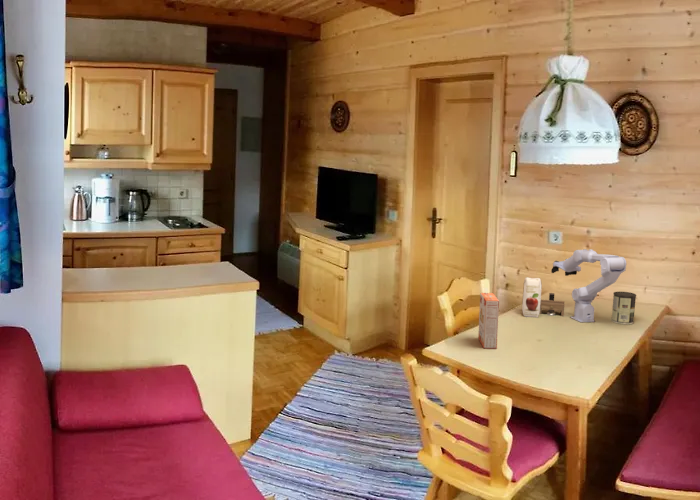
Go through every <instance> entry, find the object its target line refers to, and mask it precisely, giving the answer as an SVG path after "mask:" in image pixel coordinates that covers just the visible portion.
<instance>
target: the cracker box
mask: <svg viewBox="0 0 700 500" xmlns="http://www.w3.org/2000/svg"><path fill="white" fill-rule="evenodd" d="M479 295H480V296H479V313H478V314H479V316H478V335H477V337H478V338H477V339H478V340H479V342H480V344H481V346H482V348H483V349H496V350H497V348H498V333H499V332H498V331H499V312H500V311H499V309H500V300H499V299H498V297H497V296H496V295H495V294H494V293H493V292H480V294H479Z"/></svg>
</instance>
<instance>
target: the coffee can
mask: <svg viewBox="0 0 700 500" xmlns="http://www.w3.org/2000/svg"><path fill="white" fill-rule="evenodd" d="M636 297H637V293H634V292H630V291H629V292H628V291H614V292H613V299H612V308H611V309H612V311H611V319H610V321H611V322H613V323H615V324H619V325H633V324H634V320H635V310H636V309H635V307H636V299H637V298H636Z"/></svg>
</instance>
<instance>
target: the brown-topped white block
mask: <svg viewBox="0 0 700 500" xmlns="http://www.w3.org/2000/svg"><path fill="white" fill-rule="evenodd" d="M548 296H549V297H548V300H553V301H555V293H553V292H549V295H548ZM548 312H552V313H555V311H554V310H547V313H548Z"/></svg>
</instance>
